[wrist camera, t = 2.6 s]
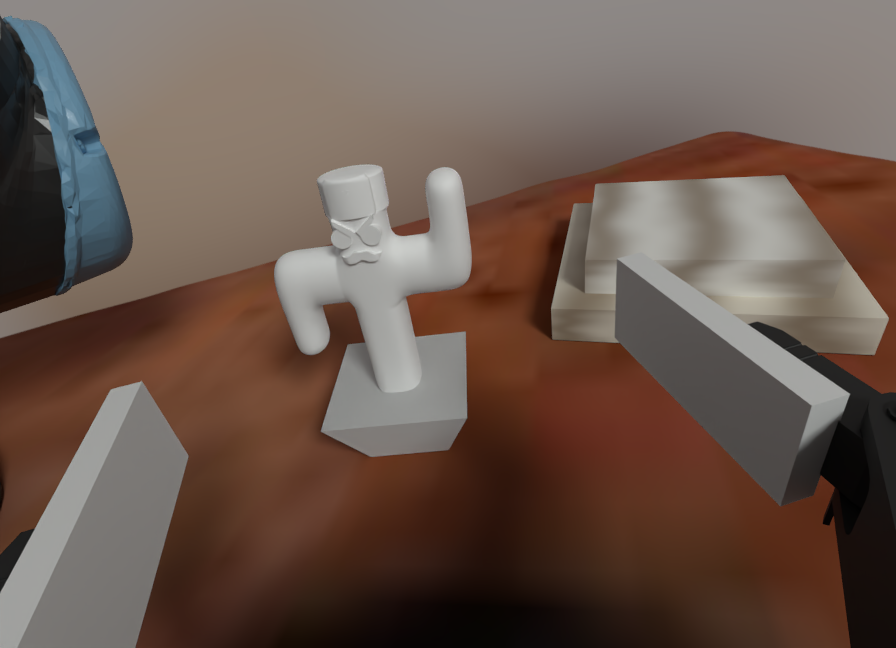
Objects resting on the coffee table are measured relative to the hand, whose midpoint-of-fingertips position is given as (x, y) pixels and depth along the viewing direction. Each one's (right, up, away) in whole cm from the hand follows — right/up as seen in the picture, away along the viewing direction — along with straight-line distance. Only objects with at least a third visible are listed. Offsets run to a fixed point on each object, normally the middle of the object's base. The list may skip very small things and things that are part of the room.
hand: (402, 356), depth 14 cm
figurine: (-1, -5, +15) cm, 16 cm away
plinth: (+19, +5, +24) cm, 31 cm away
